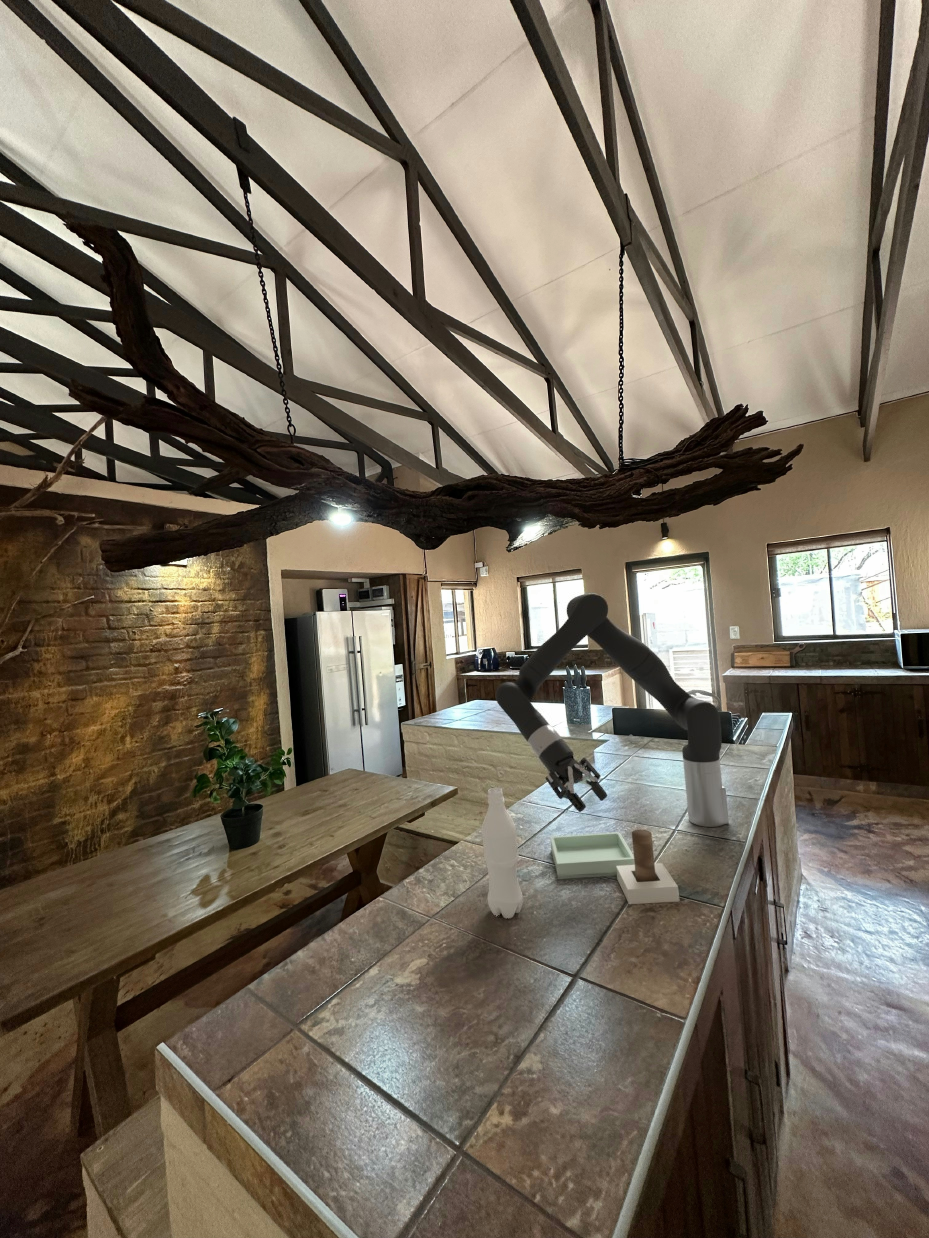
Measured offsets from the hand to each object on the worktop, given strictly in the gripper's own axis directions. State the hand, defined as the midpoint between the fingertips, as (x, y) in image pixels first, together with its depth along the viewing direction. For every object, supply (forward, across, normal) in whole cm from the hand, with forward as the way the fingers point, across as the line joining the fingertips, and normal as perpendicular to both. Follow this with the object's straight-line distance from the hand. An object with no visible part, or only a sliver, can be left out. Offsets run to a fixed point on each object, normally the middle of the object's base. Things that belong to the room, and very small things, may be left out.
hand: (594, 803), depth 117 cm
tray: (+8, +4, +15) cm, 17 cm away
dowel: (+19, 0, +3) cm, 20 cm away
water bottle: (+7, -25, +16) cm, 30 cm away
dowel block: (+19, 0, +3) cm, 20 cm away
